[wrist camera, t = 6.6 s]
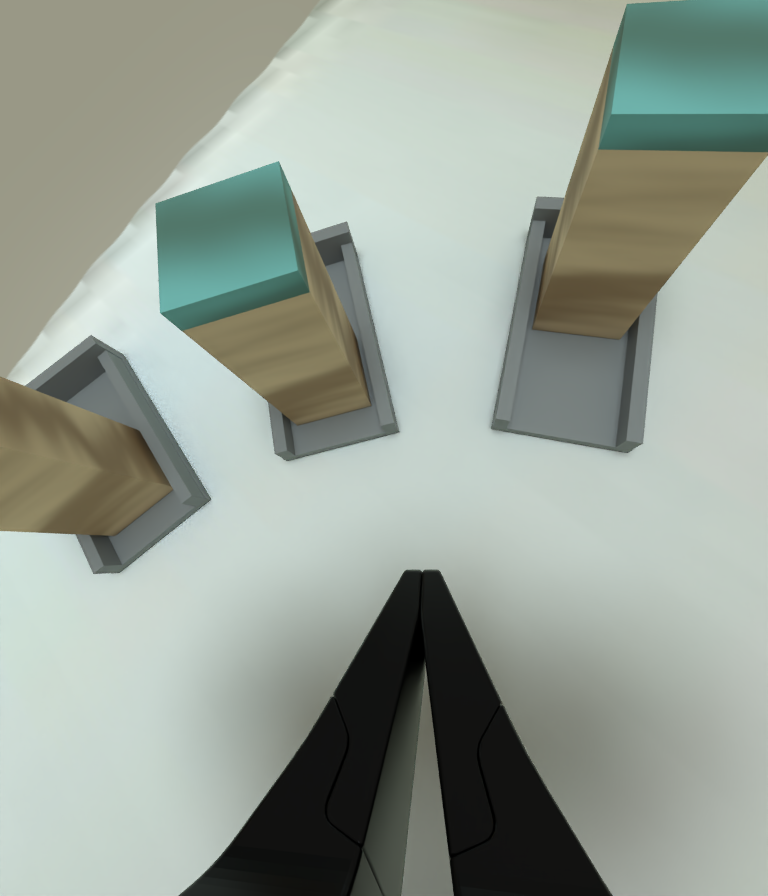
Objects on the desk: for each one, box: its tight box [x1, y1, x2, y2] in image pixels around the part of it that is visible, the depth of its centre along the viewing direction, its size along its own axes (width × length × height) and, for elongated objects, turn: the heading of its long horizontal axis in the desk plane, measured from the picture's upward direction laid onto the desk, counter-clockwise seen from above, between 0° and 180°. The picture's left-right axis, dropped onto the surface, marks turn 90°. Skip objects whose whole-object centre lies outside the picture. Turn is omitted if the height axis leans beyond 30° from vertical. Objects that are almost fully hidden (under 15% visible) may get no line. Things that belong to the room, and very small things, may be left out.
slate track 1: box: [26, 335, 211, 574], centre depth 23 cm, size 13×7×2 cm, turn 38°
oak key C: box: [0, 377, 173, 536], centre depth 18 cm, size 4×4×11 cm
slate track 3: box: [491, 197, 657, 453], centre depth 20 cm, size 13×7×2 cm, turn 166°
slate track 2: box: [268, 222, 399, 461], centre depth 23 cm, size 13×7×2 cm, turn 12°
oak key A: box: [532, 0, 768, 340], centre depth 16 cm, size 4×4×11 cm
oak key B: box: [156, 161, 372, 426], centre depth 17 cm, size 4×4×11 cm
